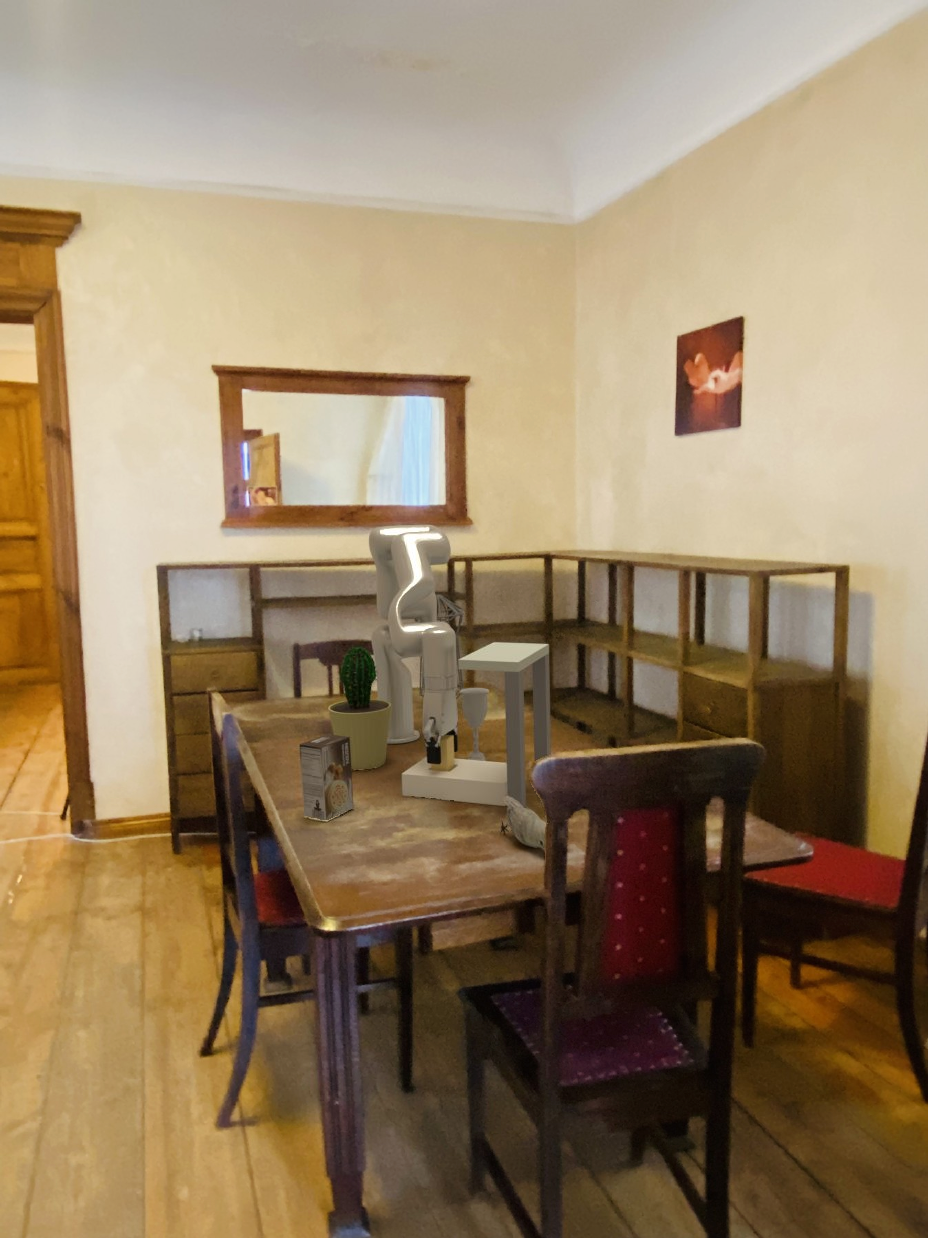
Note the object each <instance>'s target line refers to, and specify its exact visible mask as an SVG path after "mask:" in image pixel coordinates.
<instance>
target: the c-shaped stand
mask: <svg viewBox="0 0 928 1238" xmlns="http://www.w3.org/2000/svg"><path fill="white" fill-rule="evenodd" d="M458 659H459V658H458ZM458 663H459V669H461V670H464V671H465V670H468V671H470V670H471V671H488V672H490V671H493V672H504V704H505V705H504V706H505V743H506V745H505V746H506V749H505V751H506V763H507V794H508V796H509V797H512V798H514V799H515V800H517V801H518V802H519V803H520V804H521V805H522V806H525V807H527V793H526V792H527V791H526V789H527V784H526V782H527V781H526V744H525V743H526V741H525V740H526V739H525V738H526V737H525V736H526V735H525V699H524V698H525V697H524V692H525V690H524V688H525V687H524V669H526V668H527V667H529V666H530V665H532V668H531V669H532V704H533V705H532V706H533V707H532V709H533V712H532V713H533V755H534V757H533V758H534V759H533V760H534V761H536V760H538V759H540V758H542V757H545V756H549V755H551V756H552V751H551V750H552V742H551V739H552V737H551V736H552V735H551V692H550V690H551V689H550V688H551V687H550V686H551V684H550V683H551V680H550V679H551V678H550V644H549V643H527V642H502V641H501V642H499V641H498V642H497V641H494V642H492V643H490V644H488V645H485V646H483V647H481V648H480V649H477V650H476V651H473V652H470V653H469V654H467V655H465V656H463V657H460V659H459V660H458Z"/></svg>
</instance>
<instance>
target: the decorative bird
mask: <svg viewBox="0 0 928 1238" xmlns="http://www.w3.org/2000/svg"><path fill="white" fill-rule="evenodd" d="M503 801H504V802H505V804H506V806H507V809H506V817H507V823H506V824H505V825H504V822H503V820H500V821H501V826H500V834H499V835H501V834H502V833H503V835H506V832H508V833H509V832H510V831H509V830H508V829H507V828H508V827H510V830H511V832H512V834H513V835H514V837H515V838H516V839H517V840H518V841H519V842H520V843H521V844H522V845H525V846H528V847H531V848H535V849H539V848H541V850H542V851H544V853H545V827H546V823H547V822H545V821H544V820H542V818H540V816H539V815H538V814H537V813H536V811H534V810H533V809H531V808H529V807H527V806H526V807H525V806H522V805H521V804H520V803H519V802H518V801H517V800H515V799H514V798H512V797H509V796H505V798H504V799H503Z"/></svg>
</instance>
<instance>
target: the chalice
mask: <svg viewBox="0 0 928 1238" xmlns="http://www.w3.org/2000/svg"><path fill="white" fill-rule="evenodd" d="M459 690H460V689H459ZM489 692H490V690H489V689H488V688H484V687H469V688H463V689H462V690H460V691H459V693H461V695H460V696H461V704H462V705H461V708H462V713H463V717H464V719H465V720H466V722H467V725H468V726H469V727H470V728H471V729H473V734H472V738H473V742H472V745H473V750H472V752H470V753H469V754H468V757H467V760H478V761H487V760H486V757H485V756H484V753H483V752H482V751H480V750H479V745H480V742H479V736H480V734H479V732H478V729H480V728H481V727H482V725H483V723H484V721H485V719H486V717H487V713H488V710H489V709H488V707H489V705H488V695H489Z"/></svg>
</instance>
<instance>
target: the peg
mask: <svg viewBox="0 0 928 1238" xmlns="http://www.w3.org/2000/svg"><path fill="white" fill-rule="evenodd" d="M434 739H435V741H436V737H434ZM439 746H441V764H431V770H436V771H447V772H450V771H451V770H453V769H454V768H455V766H454V758H455V752H454V735H443V736H441V739H440V743H439Z"/></svg>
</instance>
